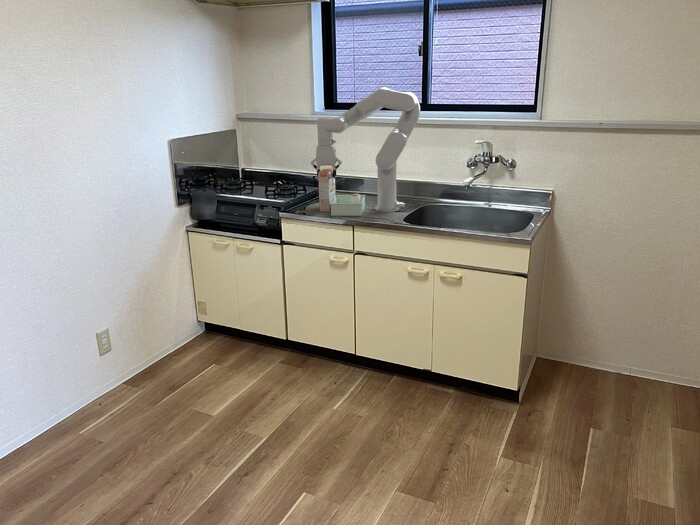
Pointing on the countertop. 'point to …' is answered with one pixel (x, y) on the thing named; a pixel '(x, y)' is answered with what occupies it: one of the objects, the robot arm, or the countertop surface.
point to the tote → (347, 206)
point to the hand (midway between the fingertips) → (326, 177)
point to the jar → (355, 198)
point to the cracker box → (326, 189)
